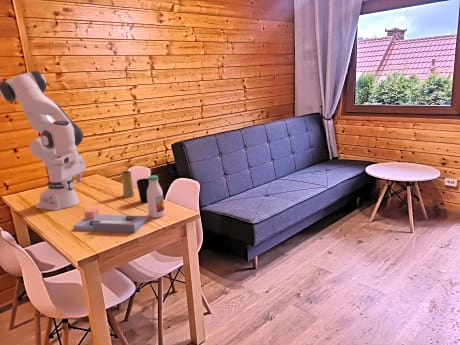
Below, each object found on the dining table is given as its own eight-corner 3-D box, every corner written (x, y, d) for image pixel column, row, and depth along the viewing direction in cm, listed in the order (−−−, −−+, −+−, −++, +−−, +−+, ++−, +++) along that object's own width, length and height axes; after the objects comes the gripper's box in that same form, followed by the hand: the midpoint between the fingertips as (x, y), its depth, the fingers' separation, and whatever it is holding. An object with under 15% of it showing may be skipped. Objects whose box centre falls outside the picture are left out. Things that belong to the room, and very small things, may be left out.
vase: (124, 194, 210) (121, 171, 207) (135, 193, 211) (132, 170, 207) (122, 197, 205) (119, 173, 201) (133, 197, 205) (130, 173, 201)
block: (85, 218, 171) (84, 211, 170) (90, 215, 175) (89, 208, 174) (93, 219, 170) (92, 212, 169) (98, 215, 174) (97, 208, 173)
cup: (149, 203, 193) (147, 182, 190) (136, 203, 195) (133, 182, 191) (155, 199, 200) (153, 178, 197) (142, 198, 202) (140, 178, 199)
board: (73, 230, 163) (71, 222, 162) (91, 217, 177) (89, 210, 176) (134, 233, 157) (133, 224, 156) (148, 219, 171) (147, 212, 170)
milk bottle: (151, 219, 172) (147, 179, 167) (147, 214, 179) (142, 175, 173) (166, 216, 175) (163, 176, 170) (162, 211, 182) (158, 173, 177)
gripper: (74, 152, 174) (79, 179, 178) (47, 161, 155) (53, 192, 158) (86, 151, 173) (91, 179, 177) (60, 161, 154) (66, 192, 157)
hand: (73, 185), depth 167 cm, fingers open, 8 cm apart
